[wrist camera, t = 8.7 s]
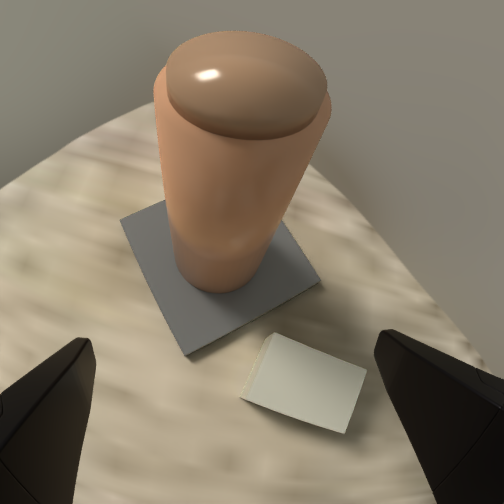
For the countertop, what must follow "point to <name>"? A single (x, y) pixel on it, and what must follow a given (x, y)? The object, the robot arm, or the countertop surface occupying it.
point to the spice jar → (234, 148)
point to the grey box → (304, 383)
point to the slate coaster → (204, 303)
